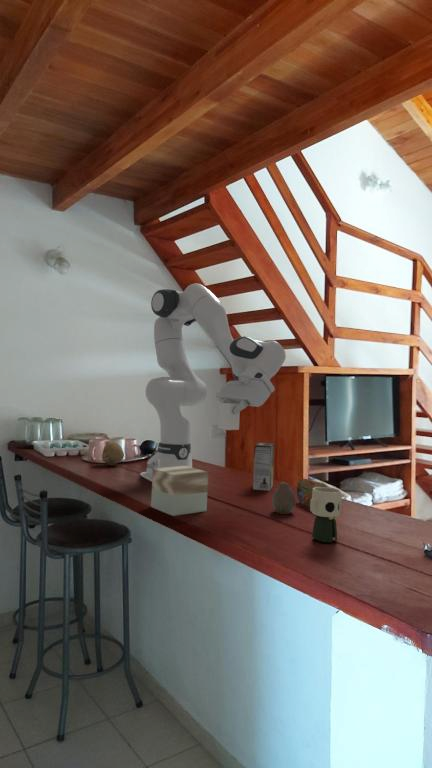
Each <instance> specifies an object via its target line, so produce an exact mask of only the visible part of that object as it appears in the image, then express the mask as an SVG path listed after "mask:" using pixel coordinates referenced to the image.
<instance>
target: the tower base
mask: <svg viewBox="0 0 432 768" xmlns="http://www.w3.org/2000/svg"><path fill="white" fill-rule="evenodd" d="M150 500H151V501H150V507H151V508H153V509H155V510H158V511H160V512H162V513H165V514H167V515H170V516H172V517H175V516H181V515H188V514H189V515H190V514H195V513H200V512H201V513H202V512H207V511H208V510H207V508H208V492H203V493H195V494H187V495H179V496H172V495H170V494H167V493H164V492H161V491H159V490H156V489H153V488H152V487H151V498H150Z"/></svg>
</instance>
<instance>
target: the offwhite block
mask: <svg viewBox="0 0 432 768" xmlns="http://www.w3.org/2000/svg"><path fill="white" fill-rule="evenodd" d="M237 405H239V404H235V403H221V402H218V415H217V416H218V418H217V421H218V422H217V429H220V430H224V431H235V430H236V431H239V430H240V420H241V419H240V413H241V411H240V412H239V413H238V414H233V412H232V409H233V408H234V407H236V406H237Z"/></svg>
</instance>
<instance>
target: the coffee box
mask: <svg viewBox="0 0 432 768" xmlns="http://www.w3.org/2000/svg"><path fill="white" fill-rule="evenodd" d="M253 455H254V457H253V479H252V480H253V485H252V489H253V491H254V490H257V491H269V492H270V491H271V489H272V488H273V486H274V485H273V484H274V483H273V480H274V462H275V461H274V459H275V457H274V456H275V443H272V442H270V443H269V442H257V443H256V444H255V445H254V454H253Z"/></svg>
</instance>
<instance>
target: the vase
mask: <svg viewBox="0 0 432 768" xmlns="http://www.w3.org/2000/svg"><path fill="white" fill-rule="evenodd" d="M271 499H272V502H271V503H272V504H271V505H272V507H273V509H274V511H275V512H276V513H277V514H281V515H288V514H289V515H290V514H291V513H292V512H293V511H294V509H295V507H296V506H295V505H296V495H295V493H294V491H293V490H292V488H291V487H290V484H289V483H287V482H280V484H279V486H278V487H277V488H276V489H275V491H274V493H273V495H272V498H271Z"/></svg>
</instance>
